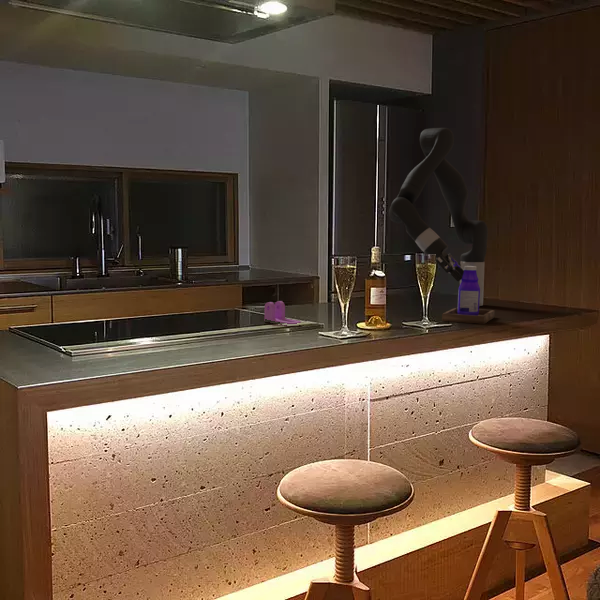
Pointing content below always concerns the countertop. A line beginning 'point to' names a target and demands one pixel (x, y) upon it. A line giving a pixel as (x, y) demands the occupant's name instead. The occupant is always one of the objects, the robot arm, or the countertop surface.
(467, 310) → the bottle
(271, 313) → the bracket
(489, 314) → the walnut tray
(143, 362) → the countertop surface
